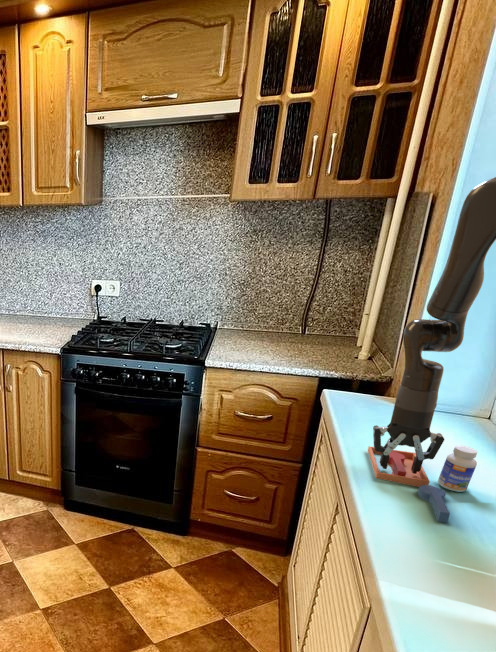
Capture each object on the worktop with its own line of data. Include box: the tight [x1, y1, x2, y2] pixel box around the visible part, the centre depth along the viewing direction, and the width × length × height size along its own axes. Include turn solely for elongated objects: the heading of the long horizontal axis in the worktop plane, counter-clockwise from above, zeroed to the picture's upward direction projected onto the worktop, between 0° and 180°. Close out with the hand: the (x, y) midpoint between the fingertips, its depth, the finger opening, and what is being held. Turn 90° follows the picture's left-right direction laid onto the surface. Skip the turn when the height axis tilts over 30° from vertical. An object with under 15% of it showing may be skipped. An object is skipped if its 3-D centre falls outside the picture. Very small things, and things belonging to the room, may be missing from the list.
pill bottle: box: [437, 444, 478, 493], centre depth 121 cm, size 5×5×10 cm
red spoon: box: [388, 451, 406, 476], centre depth 130 cm, size 13×5×2 cm, turn 154°
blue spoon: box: [417, 484, 451, 524], centre depth 114 cm, size 13×5×2 cm, turn 154°
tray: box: [367, 445, 430, 488], centre depth 130 cm, size 16×10×2 cm, turn 154°
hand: (398, 469), depth 128 cm, fingers open, 5 cm apart
